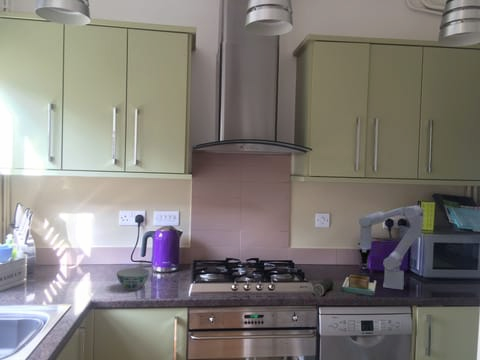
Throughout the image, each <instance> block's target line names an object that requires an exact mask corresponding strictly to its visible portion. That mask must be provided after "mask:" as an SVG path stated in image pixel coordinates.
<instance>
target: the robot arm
mask: <svg viewBox="0 0 480 360" xmlns="http://www.w3.org/2000/svg"><path fill="white" fill-rule="evenodd" d="M397 216H401V217H405V218H406V219H407V221H408V222H409V225H410V227H409V228H408V230H407V231H406V233H405V234H404V236H403V237H402V239H401V240H400V242H398V244H397V246H396V247H395V249H394V250H393V251H392V252H391V253H389V255H388V257H386V258H384V260H383V263H382V264H383V265H382V266H383V267H384V275H383V277H384V280H383V284H382V287H383V288H388V289H395V290H402V291H403V290H404V286H405V282H404V278H405V277H404V274H405V271H404V270H401V268H400V267H401V266H402V263H403V259H404V256H405V254H406V253H407V251H408V250H409V248H410V247H411V246H412V244H413V243H414V241H415V240H416V238H417V237H418V236H419V234H420V233H421V231H422V230H423V228H424V216H425V212H424V210H423V209H422V207H421V206H419V205H416V204H415V205H410V206H403V207H398V208H394V209H392V210H388V211H386V212H383V211H380V210H377V211H375V212H374V213H371V214H370V213H367V215H363V216H361V217H360V218H359V219H358V223H359V225H360V230H359V231H360V232H359V245H357V248H359V253H360V255H361V256H360V257H361V261H362V264H368V260H369V256H370V253H371V251H372V250H371V249H372V228H373V227H372V226H374V225H377V224H383V223H385V222H386V220H387V219H390V218H393V217H397Z"/></svg>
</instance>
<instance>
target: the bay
mask: <svg viewBox="0 0 480 360" xmlns="http://www.w3.org/2000/svg"><path fill="white" fill-rule="evenodd" d="M349 277H350V276H347V277H346V278H345V280H344V282H343V284H342V286H341V292H345V293H346V292H347V293H352V294H353V293H354V294H360V295H366V296H375V292H376V287H377V280H373V282H370V281H369V289H368V290H364V289H357V288H350V287H349Z"/></svg>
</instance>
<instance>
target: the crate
mask: <svg viewBox="0 0 480 360" xmlns="http://www.w3.org/2000/svg"><path fill="white" fill-rule="evenodd" d="M348 277H349V287H350V288H357V289H364V290H368V289H369V282H370V276H362V275H356V274H355V275H354V274H350V275H349V276H348Z"/></svg>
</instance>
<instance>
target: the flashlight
mask: <svg viewBox="0 0 480 360" xmlns="http://www.w3.org/2000/svg"><path fill="white" fill-rule="evenodd" d="M334 284H335V283H334V280H332V279H331V278H328V277H327V278H325V279H323V281H320V282H318V283H316V284H314V285H313V287H312V292H313V294H314V296H319V297H321V296H323V295H324V294H325V293H326V292H328V291H329V290H331V289H333V288H334V286H335V285H334Z"/></svg>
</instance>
